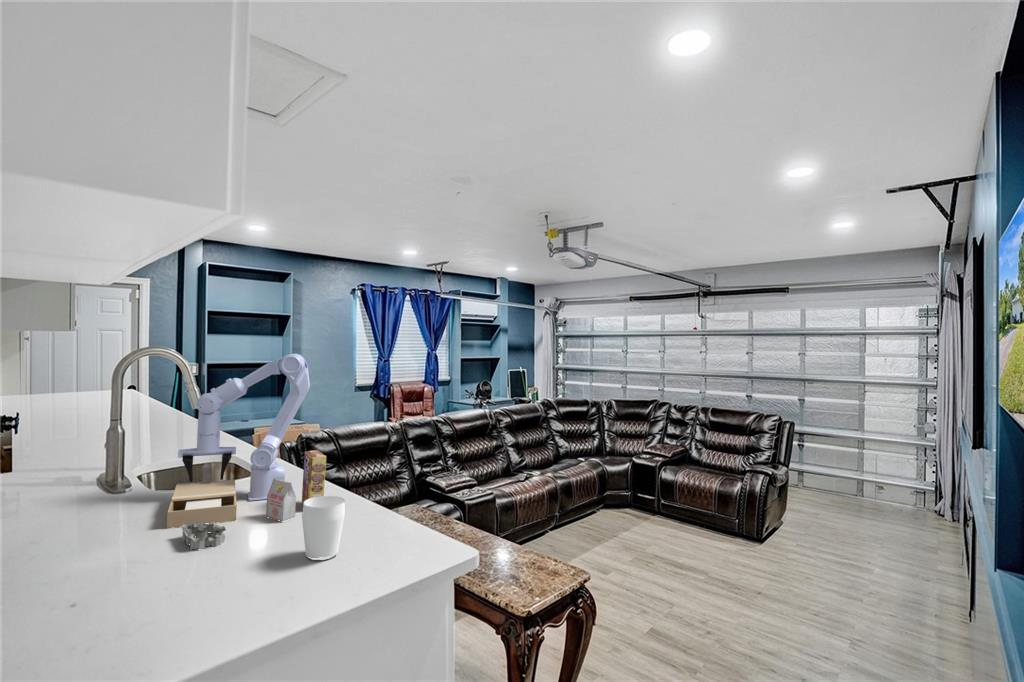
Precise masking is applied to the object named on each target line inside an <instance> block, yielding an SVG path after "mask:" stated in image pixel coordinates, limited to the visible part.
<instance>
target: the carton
mask: <svg viewBox="0 0 1024 682" xmlns="http://www.w3.org/2000/svg"><path fill="white" fill-rule="evenodd" d="M166 517H167V518H166V529H167V528H168V529H173V528H172V527H176V528H179V527H178V526H182V524H185V525H191V524H192V523H193V524H196V523H203V522H205V523H210V522H213V523H214V522H220V523H227V522H226V521H229V522H236V521H237V495H236V496H225V497H215V498H204V499H193V500H183V501H172V502H171V501H170V504H169V507H168V511H167V515H166ZM235 520H236V521H235ZM214 524H215V523H214Z"/></svg>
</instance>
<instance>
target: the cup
mask: <svg viewBox="0 0 1024 682" xmlns="http://www.w3.org/2000/svg"><path fill="white" fill-rule="evenodd" d="M345 504H346V500H345V499H344V498H343V497H341V496H338V495H337V496H336V495H324V496H319V497H313V498H310V499H307V500H305V501H304V504H302V505H303V506H302V508H303V509H302V513H301V520H302V530H303V540H304V541H303V542H304V550H305V556H306V555H307V556H308V557H311V558H319V557H327V556H331V555H333V554H335V553H337V552H338V553H339V548H340V542H341V537H342V533H343V527H344V522H345V516H346V505H345Z"/></svg>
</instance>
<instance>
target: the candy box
mask: <svg viewBox="0 0 1024 682" xmlns="http://www.w3.org/2000/svg"><path fill="white" fill-rule="evenodd" d="M303 458H304V459H303V470H302V471H303V473H302V476H303V477H302V489H301V490H302V491H301V504H302V503H303V504H304V501H305V500H307V499H310V498H313V497H319V496H325V481H326V469H327V468H326V467H327V455H325V454H324V453H322V452H321V451H319V450H308V451H307V450H306V451H304V457H303ZM303 504H302V505H303Z"/></svg>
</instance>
